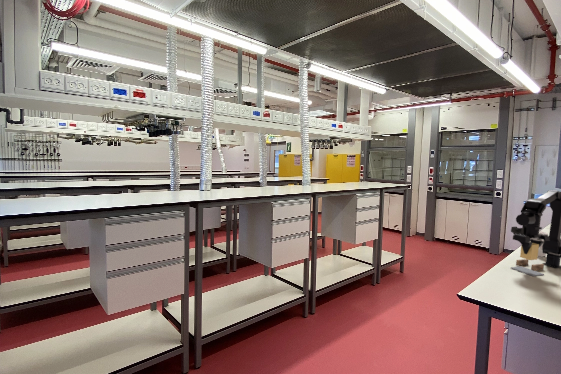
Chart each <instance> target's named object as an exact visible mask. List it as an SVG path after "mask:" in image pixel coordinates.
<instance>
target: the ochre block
mask: <svg viewBox="0 0 561 374" xmlns="http://www.w3.org/2000/svg"><path fill="white" fill-rule="evenodd" d="M538 249H539V244H535V243H532V245H531V247H530V249H529V251H528V253H527V254H524V251H523V248H522V245H520V252H519V253H520V254H519V257H520V258H521V259H528V261H537V260H538V257H539V256H538Z"/></svg>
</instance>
